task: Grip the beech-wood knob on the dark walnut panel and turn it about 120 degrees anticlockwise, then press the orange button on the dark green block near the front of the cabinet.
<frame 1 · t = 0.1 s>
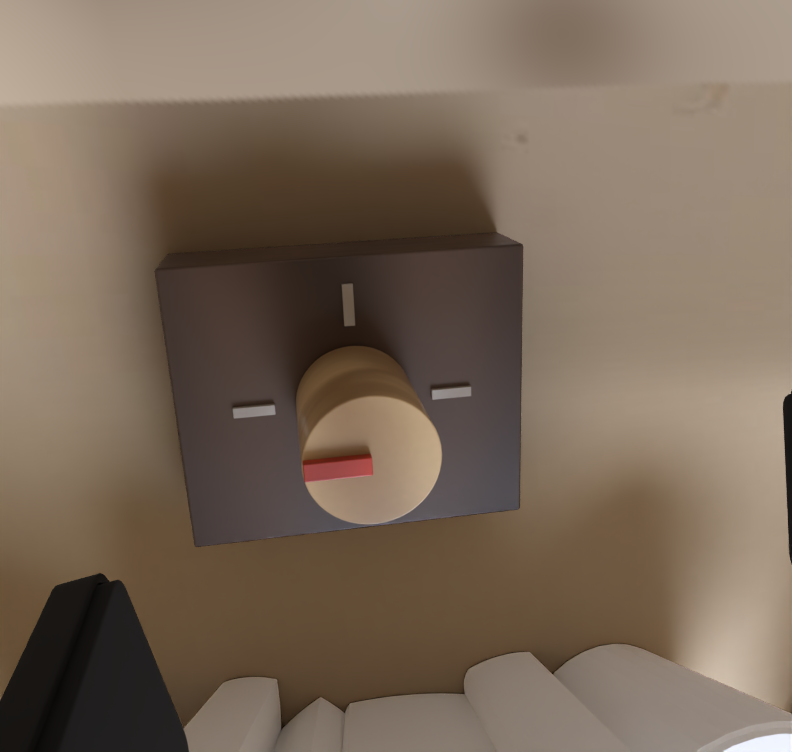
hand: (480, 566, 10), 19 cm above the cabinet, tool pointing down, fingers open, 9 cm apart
knob: (363, 430, 23), point 6 cm above the cabinet, hinge at 0.0°
hob panel: (346, 373, 29), on the cabinet
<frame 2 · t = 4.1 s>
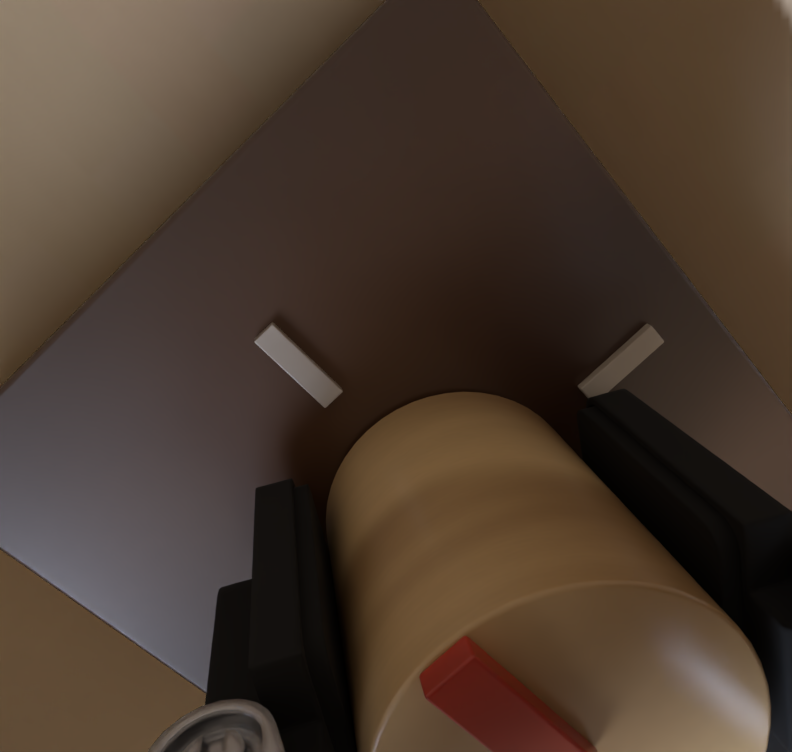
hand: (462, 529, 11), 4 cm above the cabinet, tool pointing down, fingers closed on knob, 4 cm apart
knob: (503, 615, 9), point 6 cm above the cabinet, hinge at 0.0°, touching gripper
hob panel: (418, 436, 15), on the cabinet
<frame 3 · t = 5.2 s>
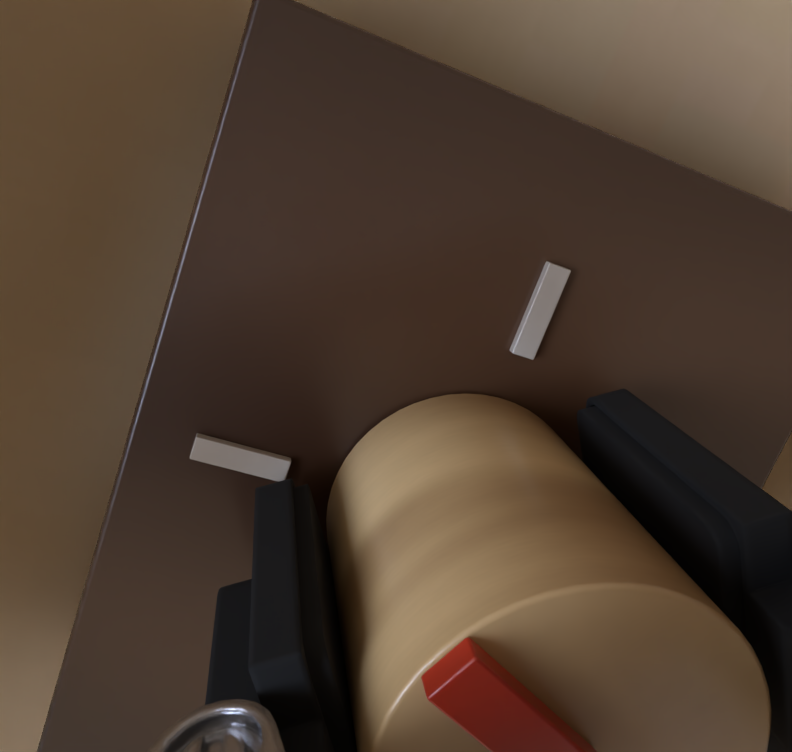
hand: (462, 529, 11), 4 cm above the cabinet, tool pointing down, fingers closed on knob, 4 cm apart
knob: (503, 616, 9), point 6 cm above the cabinet, hinge at 62.4°, touching gripper
hob panel: (418, 437, 15), on the cabinet
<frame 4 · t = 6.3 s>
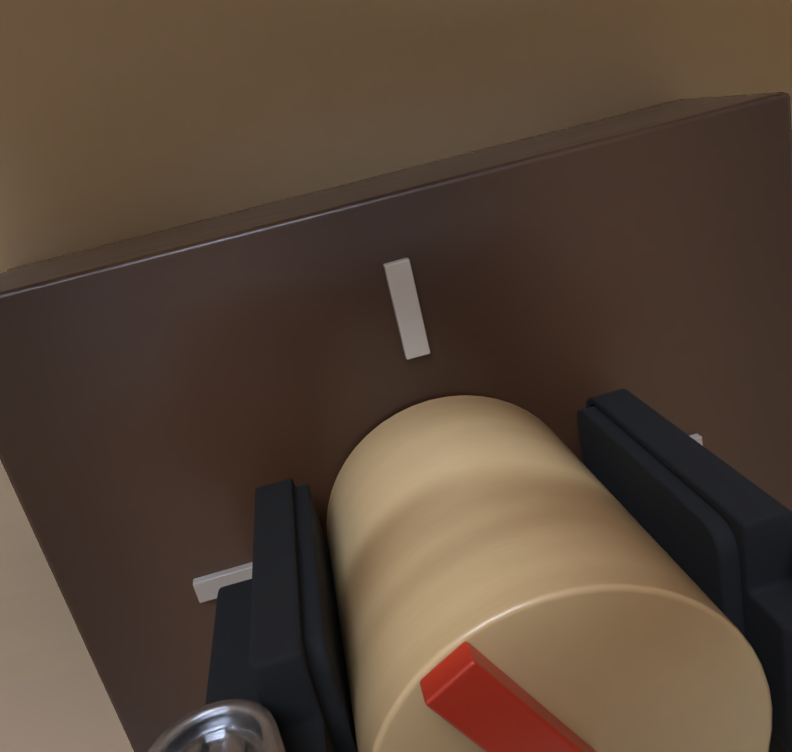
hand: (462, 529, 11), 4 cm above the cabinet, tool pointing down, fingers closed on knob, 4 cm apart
knob: (504, 618, 9), point 6 cm above the cabinet, hinge at 119.8°, touching gripper
hob panel: (418, 439, 15), on the cabinet
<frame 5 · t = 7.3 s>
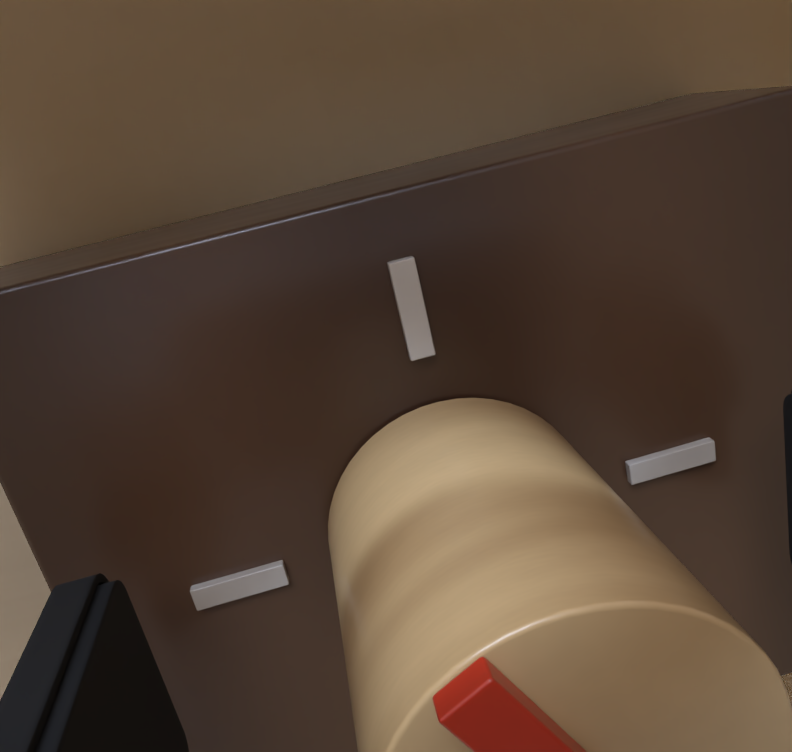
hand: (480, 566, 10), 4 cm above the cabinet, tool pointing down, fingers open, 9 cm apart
knob: (512, 630, 9), point 6 cm above the cabinet, hinge at 117.8°
hob panel: (421, 441, 14), on the cabinet
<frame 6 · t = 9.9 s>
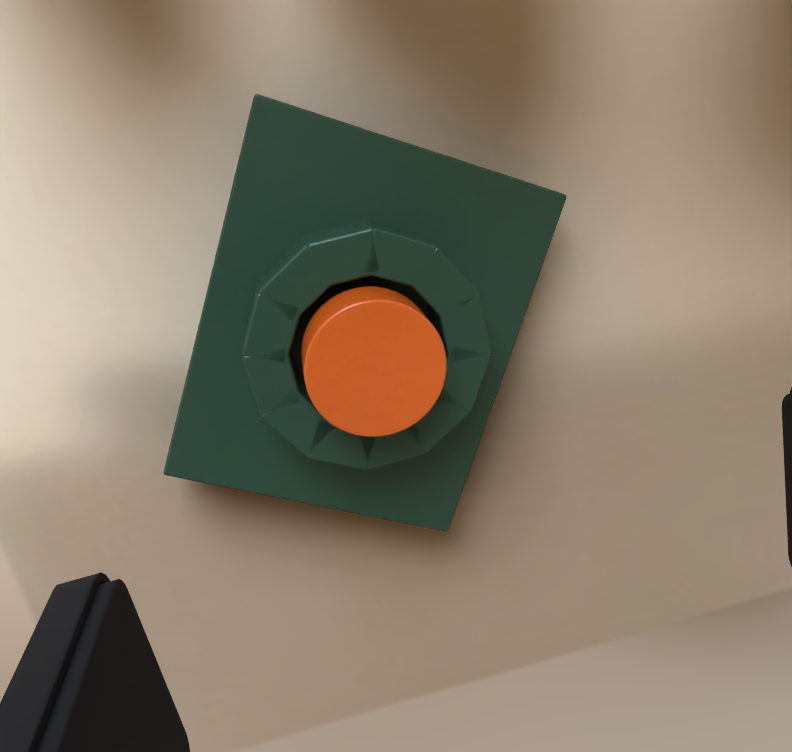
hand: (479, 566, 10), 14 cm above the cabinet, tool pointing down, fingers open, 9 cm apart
button: (372, 360, 20), point 4 cm above the cabinet, slide at 0.1 cm
bell block: (354, 319, 24), on the cabinet
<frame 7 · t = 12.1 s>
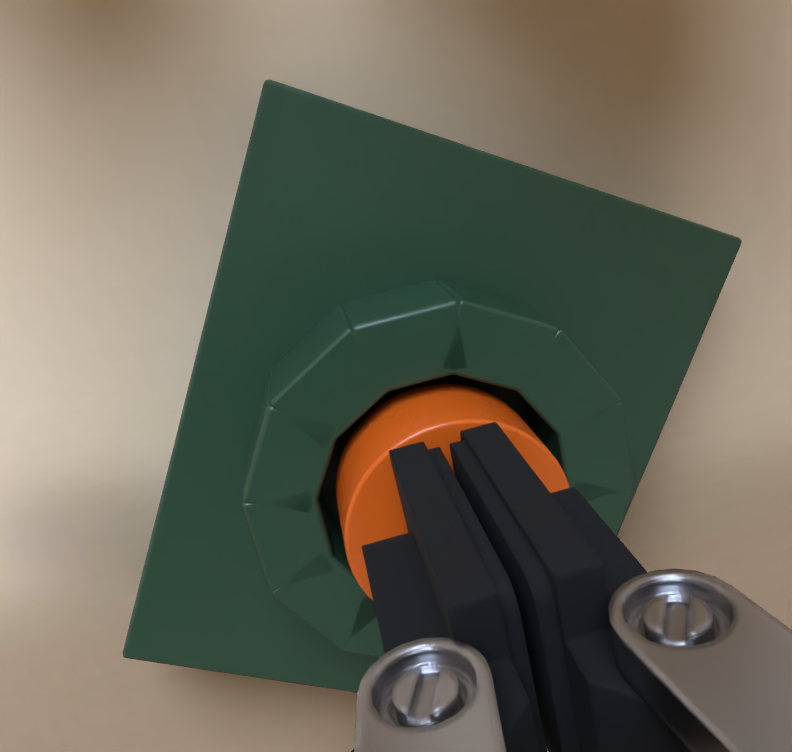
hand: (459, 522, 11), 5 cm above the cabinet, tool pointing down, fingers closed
button: (449, 503, 12), point 4 cm above the cabinet, slide at -0.2 cm, touching gripper
bell block: (406, 413, 16), on the cabinet
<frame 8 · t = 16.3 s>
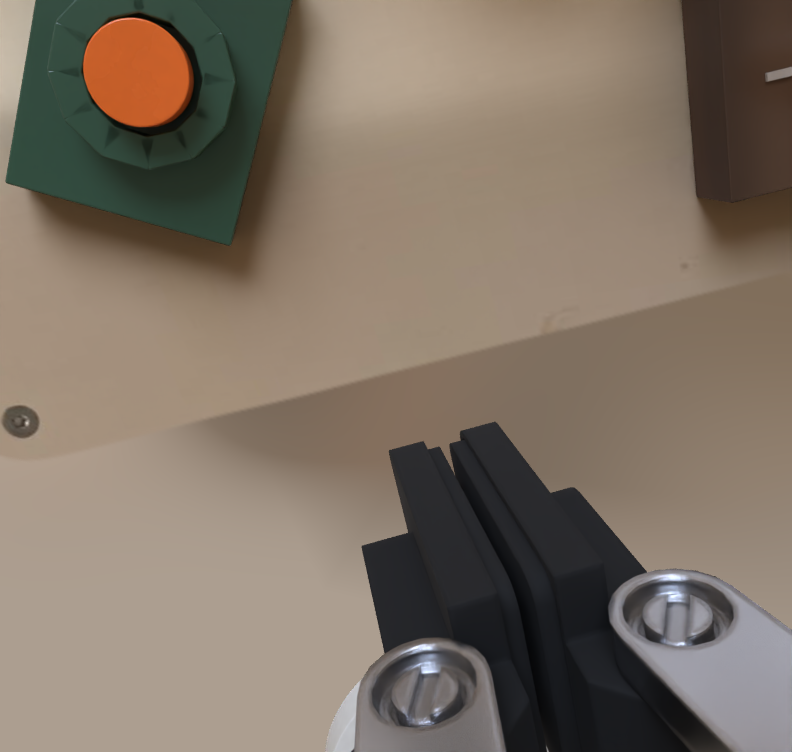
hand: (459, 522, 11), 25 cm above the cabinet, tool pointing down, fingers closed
button: (140, 75, 27), point 4 cm above the cabinet, slide at 0.1 cm
bell block: (158, 81, 32), on the cabinet
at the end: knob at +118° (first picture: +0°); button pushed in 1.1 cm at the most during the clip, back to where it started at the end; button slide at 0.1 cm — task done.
